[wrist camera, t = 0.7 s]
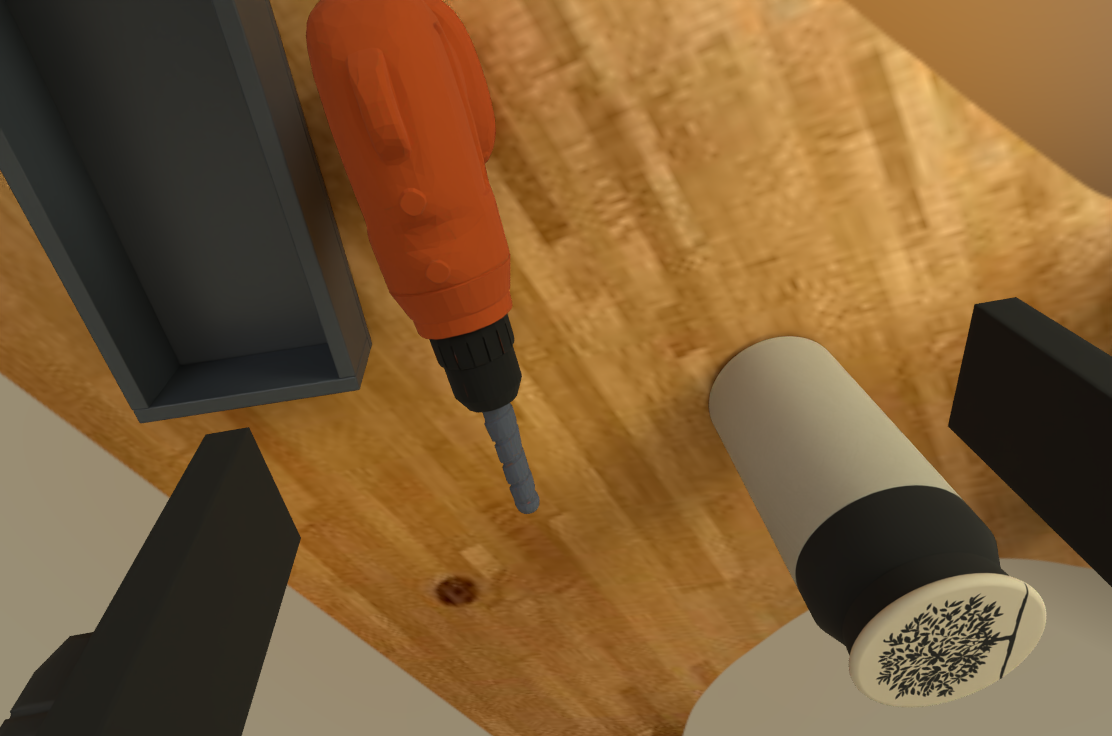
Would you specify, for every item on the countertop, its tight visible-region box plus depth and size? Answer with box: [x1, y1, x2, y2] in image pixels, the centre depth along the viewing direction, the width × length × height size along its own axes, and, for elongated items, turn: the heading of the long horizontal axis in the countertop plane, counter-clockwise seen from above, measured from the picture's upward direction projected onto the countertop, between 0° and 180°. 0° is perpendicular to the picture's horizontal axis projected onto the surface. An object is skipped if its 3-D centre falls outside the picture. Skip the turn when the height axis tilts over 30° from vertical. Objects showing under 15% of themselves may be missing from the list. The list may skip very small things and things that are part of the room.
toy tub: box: [0, 0, 372, 423], centre depth 28 cm, size 25×11×5 cm, turn 7°
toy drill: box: [306, 0, 539, 514], centre depth 26 cm, size 5×19×15 cm, turn 14°
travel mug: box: [709, 336, 1046, 707], centre depth 33 cm, size 8×8×18 cm
